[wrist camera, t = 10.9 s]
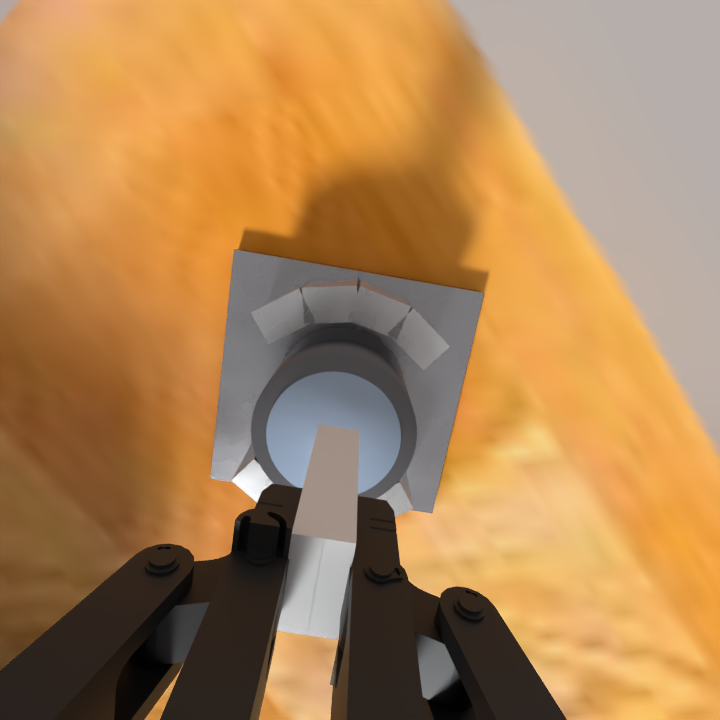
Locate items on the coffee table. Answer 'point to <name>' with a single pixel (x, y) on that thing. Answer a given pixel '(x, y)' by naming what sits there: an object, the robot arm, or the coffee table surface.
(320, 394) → the grey cylinder
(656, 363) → the coffee table surface
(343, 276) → the grey square base
